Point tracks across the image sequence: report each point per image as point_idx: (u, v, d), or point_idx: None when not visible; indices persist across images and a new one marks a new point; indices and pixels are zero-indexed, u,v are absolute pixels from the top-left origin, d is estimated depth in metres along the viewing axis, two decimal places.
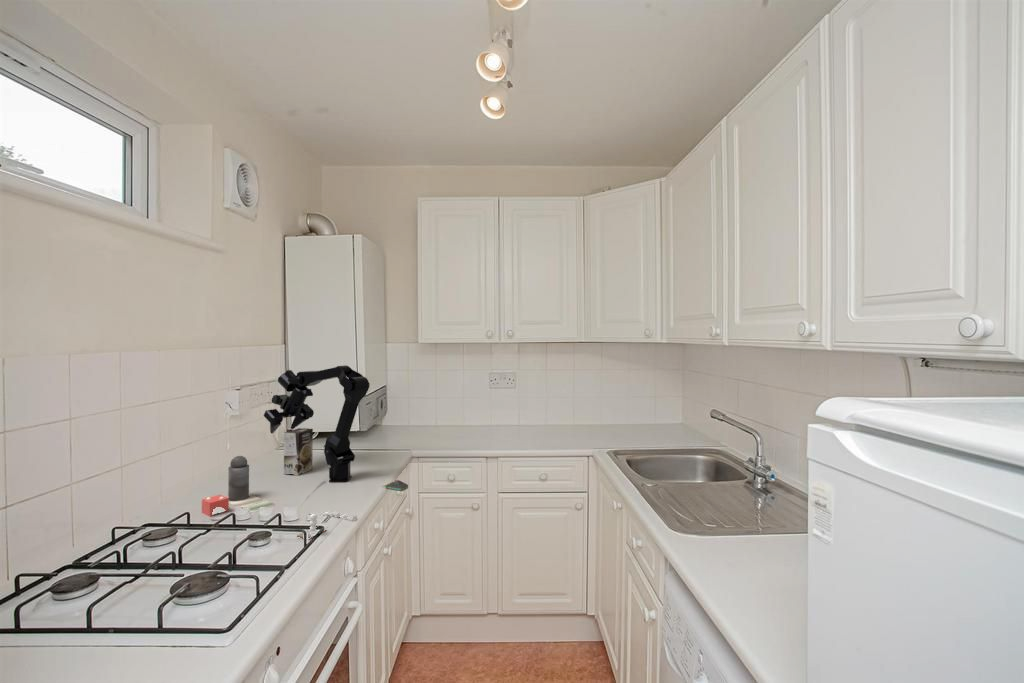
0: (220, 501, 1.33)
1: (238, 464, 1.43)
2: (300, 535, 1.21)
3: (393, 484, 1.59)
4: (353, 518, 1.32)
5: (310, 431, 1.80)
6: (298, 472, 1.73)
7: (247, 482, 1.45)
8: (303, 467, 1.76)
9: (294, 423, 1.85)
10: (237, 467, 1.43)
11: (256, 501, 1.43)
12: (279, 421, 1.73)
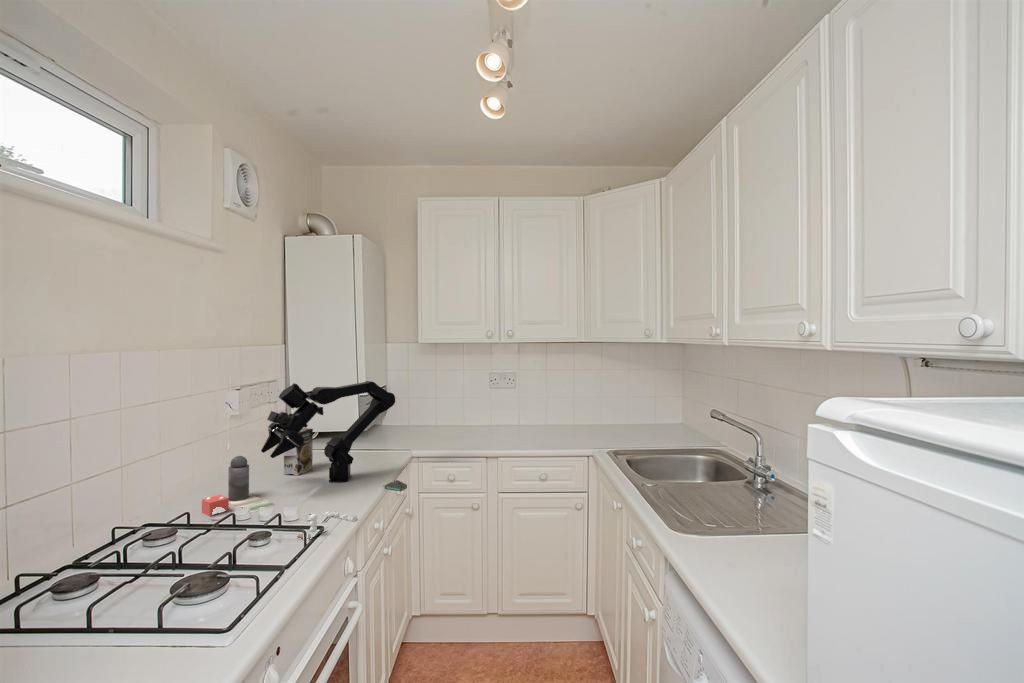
0: (220, 501, 1.33)
1: (238, 464, 1.43)
2: (300, 536, 1.20)
3: (392, 484, 1.59)
4: (353, 518, 1.32)
5: (310, 431, 1.80)
6: (298, 472, 1.73)
7: (247, 482, 1.45)
8: (303, 467, 1.76)
9: (268, 445, 1.56)
10: (237, 467, 1.43)
11: (256, 501, 1.43)
12: None
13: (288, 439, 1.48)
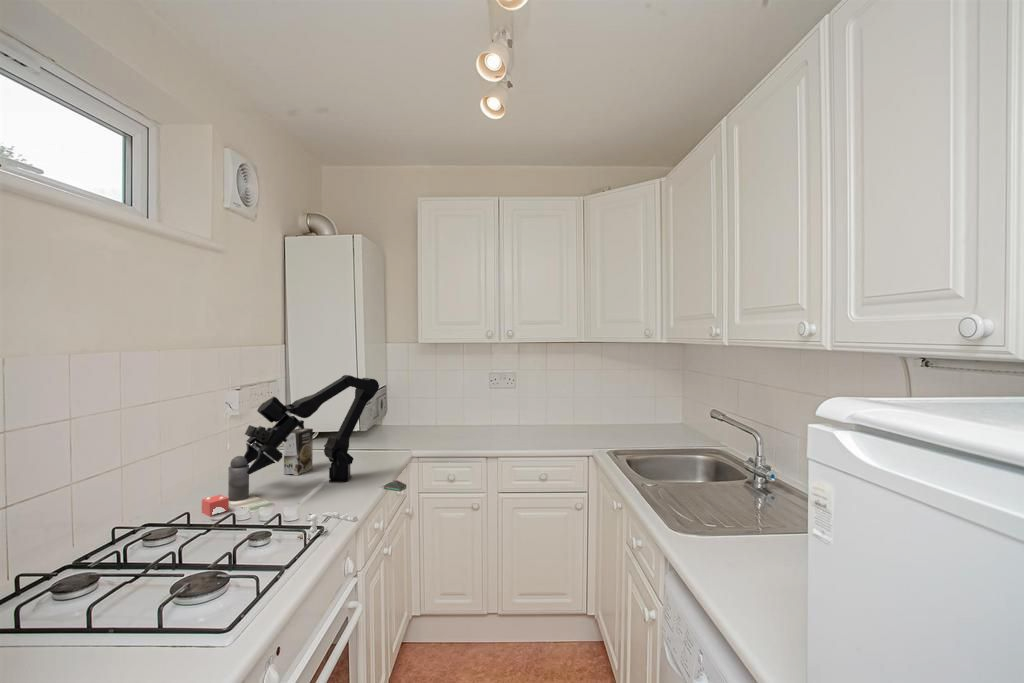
0: (220, 501, 1.33)
1: (238, 464, 1.43)
2: (301, 536, 1.20)
3: (391, 484, 1.59)
4: (353, 518, 1.32)
5: (310, 431, 1.80)
6: (298, 472, 1.73)
7: (247, 482, 1.45)
8: (303, 467, 1.76)
9: None
10: (237, 467, 1.43)
11: (256, 501, 1.43)
12: None
13: (265, 455, 1.44)
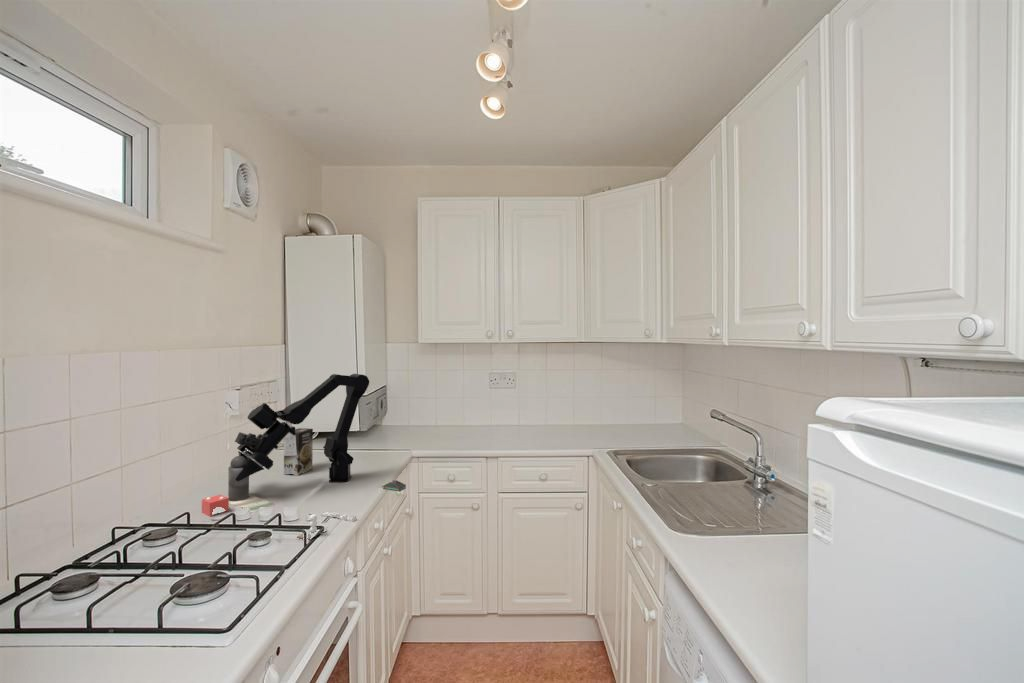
0: (220, 501, 1.33)
1: (237, 464, 1.43)
2: (300, 536, 1.20)
3: (391, 484, 1.59)
4: (353, 518, 1.31)
5: (310, 431, 1.80)
6: (298, 472, 1.73)
7: (247, 482, 1.45)
8: (303, 467, 1.76)
9: None
10: (237, 467, 1.43)
11: (256, 501, 1.43)
12: None
13: (254, 461, 1.43)
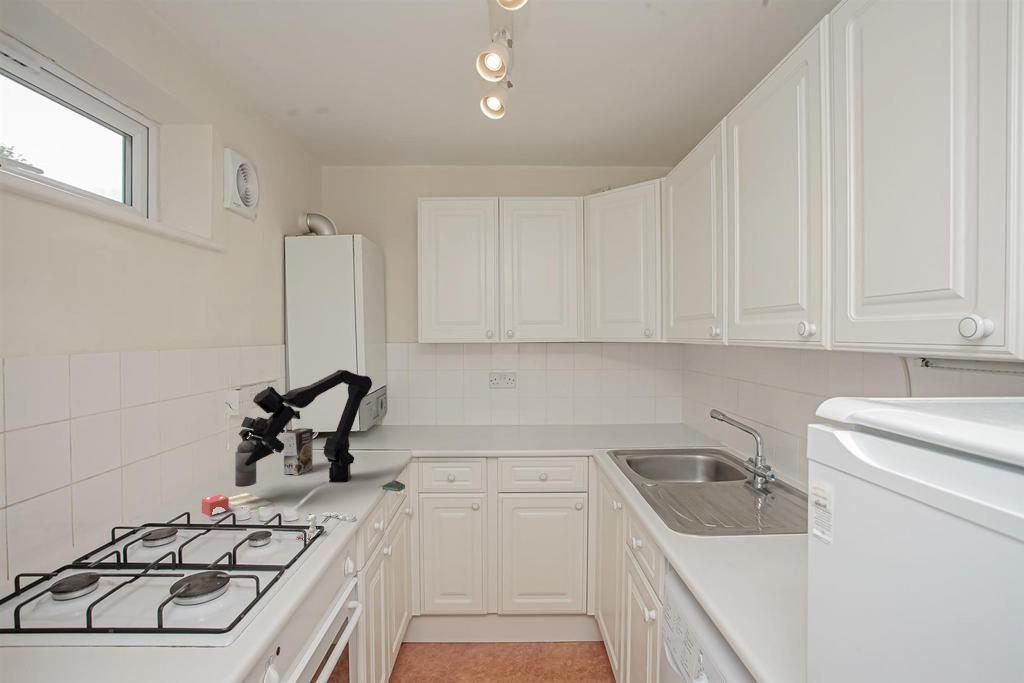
0: (220, 501, 1.33)
1: (246, 449, 1.40)
2: (300, 536, 1.20)
3: (390, 484, 1.59)
4: (352, 519, 1.31)
5: (310, 431, 1.80)
6: (298, 472, 1.73)
7: (255, 467, 1.42)
8: (303, 467, 1.76)
9: None
10: (246, 452, 1.40)
11: (256, 501, 1.43)
12: None
13: (265, 445, 1.40)
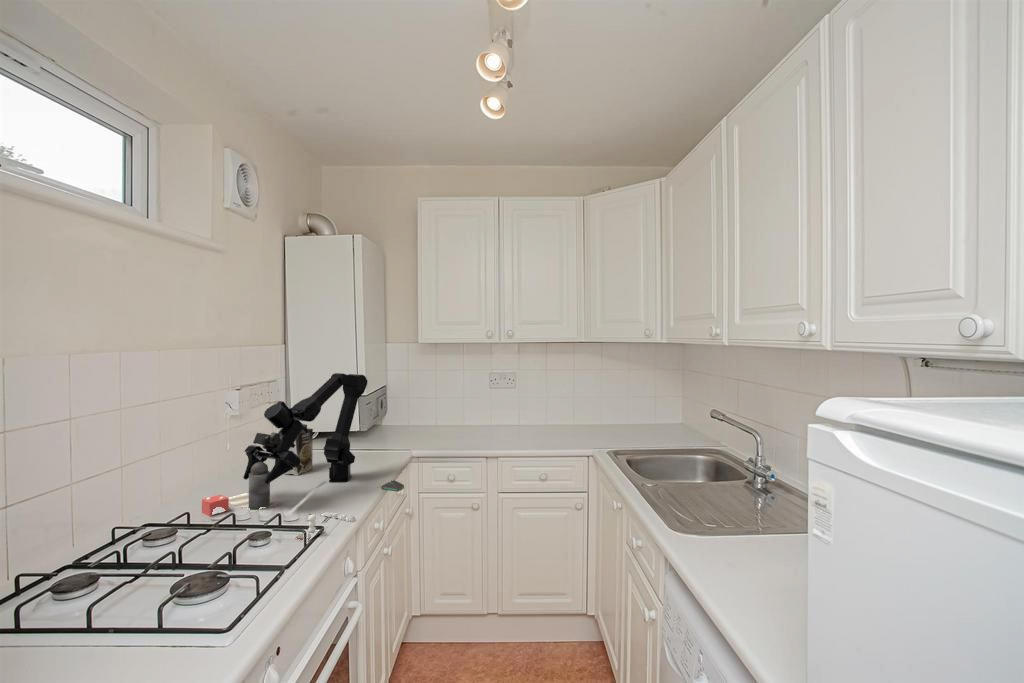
0: (220, 501, 1.33)
1: (262, 470, 1.37)
2: (299, 536, 1.20)
3: (389, 484, 1.59)
4: (351, 519, 1.31)
5: (310, 431, 1.80)
6: (298, 472, 1.73)
7: (269, 488, 1.40)
8: (303, 467, 1.76)
9: (250, 471, 1.41)
10: (261, 473, 1.37)
11: None
12: None
13: (285, 461, 1.38)
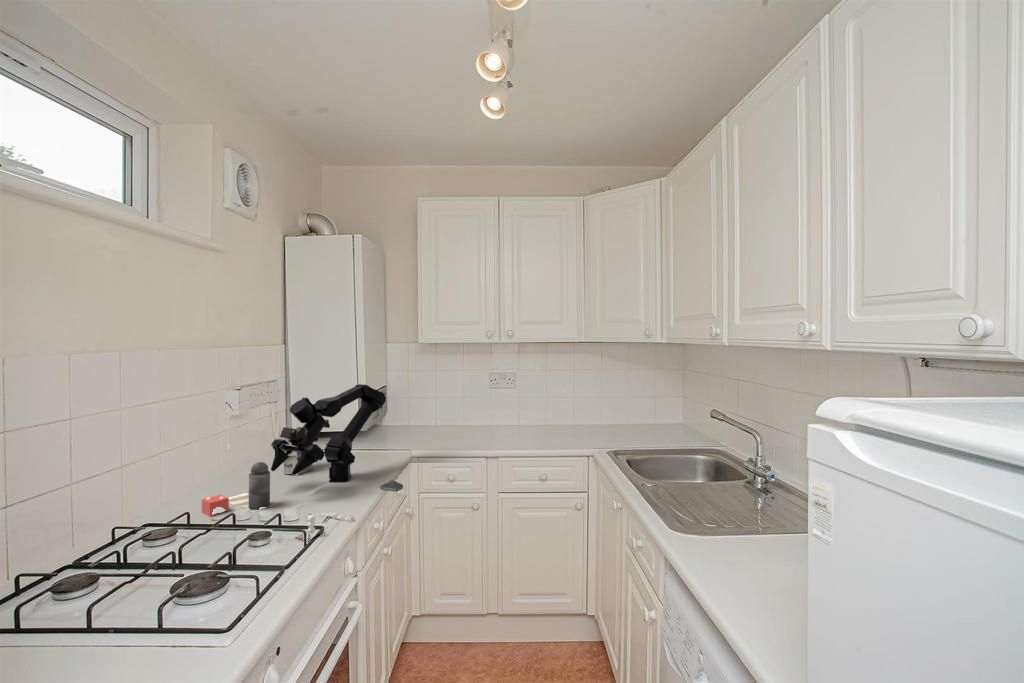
0: (220, 501, 1.33)
1: (262, 470, 1.37)
2: (298, 537, 1.20)
3: (388, 484, 1.59)
4: (351, 519, 1.31)
5: None
6: None
7: (269, 488, 1.40)
8: None
9: (277, 463, 1.50)
10: (261, 473, 1.37)
11: None
12: None
13: (311, 454, 1.46)
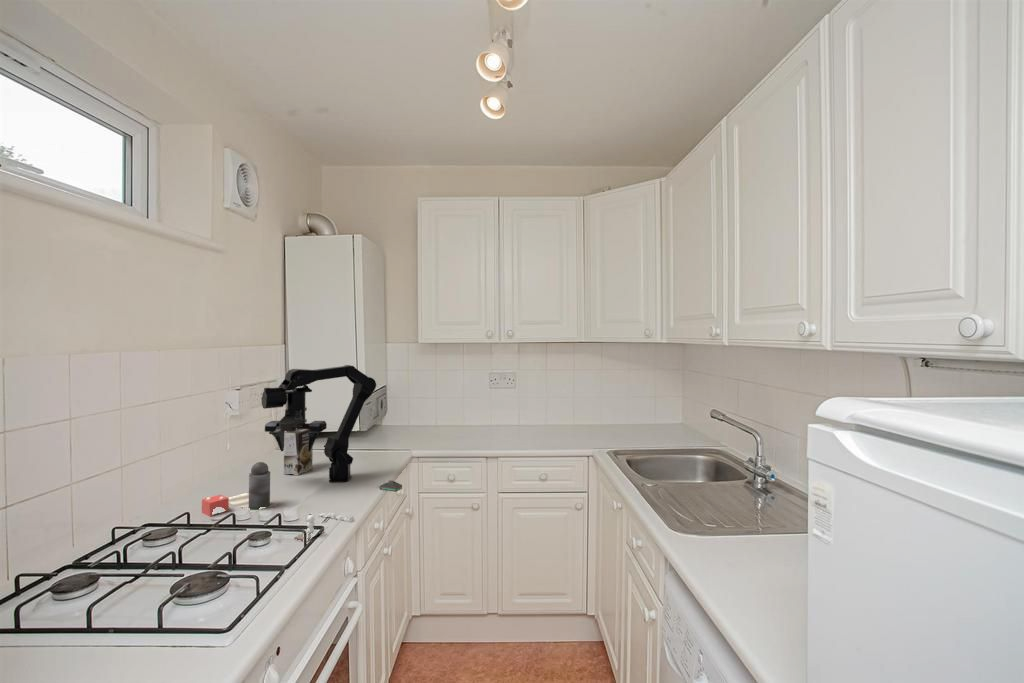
0: (220, 501, 1.33)
1: (262, 470, 1.37)
2: (298, 537, 1.20)
3: (387, 484, 1.59)
4: (350, 519, 1.31)
5: (310, 431, 1.80)
6: (298, 472, 1.73)
7: (269, 488, 1.40)
8: (303, 467, 1.76)
9: (282, 443, 1.58)
10: (261, 474, 1.37)
11: None
12: None
13: (318, 431, 1.57)
